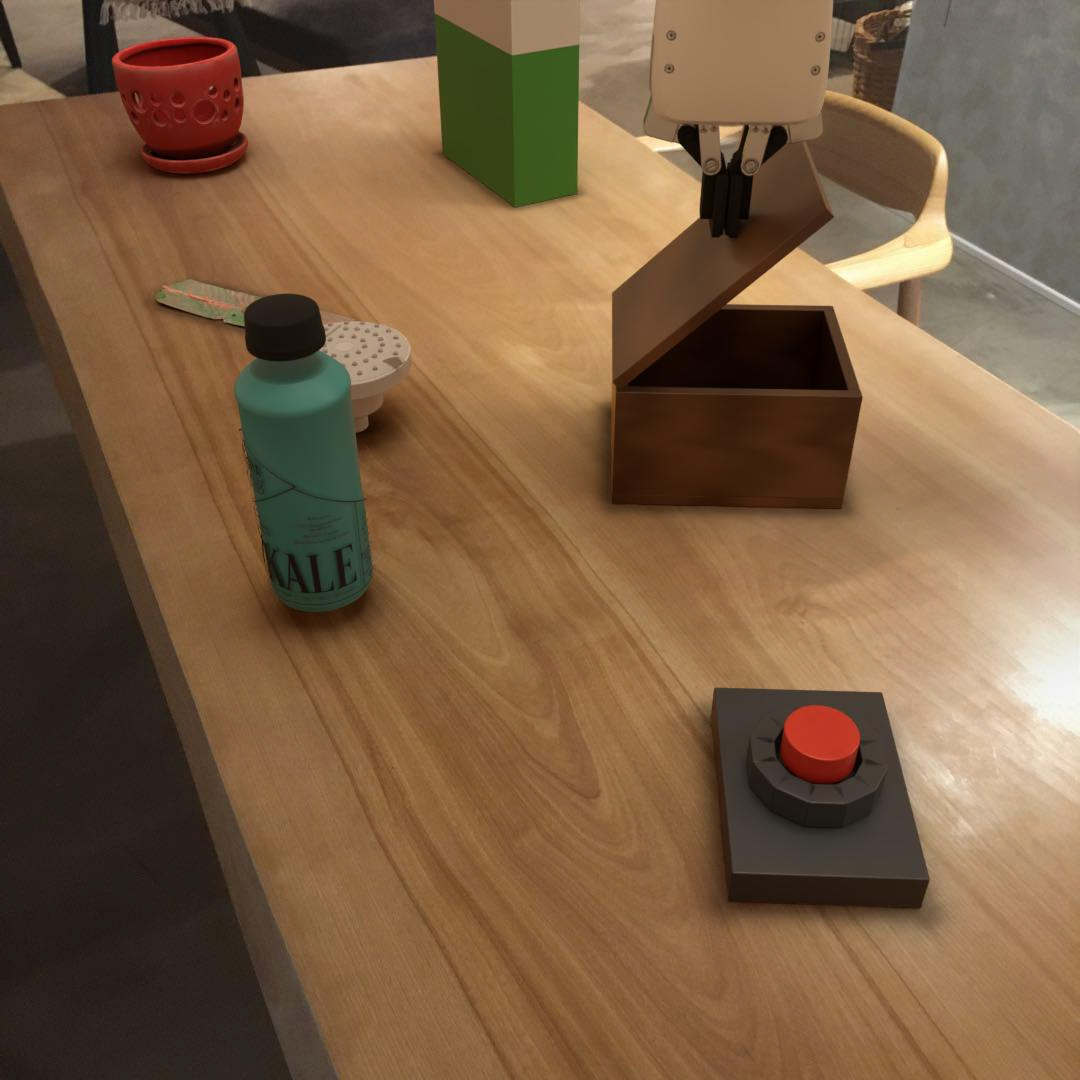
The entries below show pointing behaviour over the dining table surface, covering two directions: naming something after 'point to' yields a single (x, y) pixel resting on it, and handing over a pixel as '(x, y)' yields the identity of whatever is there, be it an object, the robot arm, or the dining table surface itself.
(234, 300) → the map
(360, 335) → the showerhead
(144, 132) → the plant pot
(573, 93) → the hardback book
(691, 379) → the chest
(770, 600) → the dining table surface
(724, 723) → the control block
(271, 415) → the beverage bottle
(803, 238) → the chest lid
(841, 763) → the button
